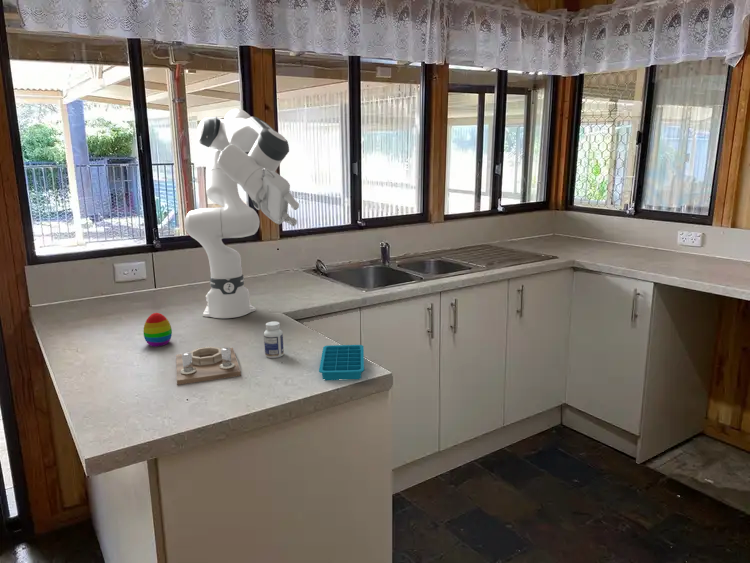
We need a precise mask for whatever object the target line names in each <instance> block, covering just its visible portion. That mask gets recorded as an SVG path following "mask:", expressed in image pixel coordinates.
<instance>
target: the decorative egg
mask: <svg viewBox="0 0 750 563" xmlns="http://www.w3.org/2000/svg"><path fill="white" fill-rule="evenodd" d="M172 331H173V329H172V326H171V324H170V321H169V320H168V318H167V317H166V316H165V315H163V314H162V313H160V312H153V313H151V314H150V315H149V316H148V317H147V318H146V320H145V323H144V325H143V337H144V340H145V342H146V343H147V344H148V345H149V346H150V347H157V348H158V347H163V346H165V345H168V344H169V342H170V341H171V339H172V335H173V334H172V333H173V332H172Z"/></svg>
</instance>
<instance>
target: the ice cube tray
mask: <svg viewBox="0 0 750 563" xmlns="http://www.w3.org/2000/svg"><path fill="white" fill-rule="evenodd" d="M364 349H365V348H364V345H362V344H339V345H338V344H337V345H336V344H335V345H334V344H333V345H332V344H330V345H328V344H327V345H324V346H323V347H322V352H321V357H320V362H319V368H318V372H319V373H320V374H321V375H322V376H321V378H322V380H323V379H325V380H324V381H340V380H339V379H358V380H360V379H361V378H362V372H364V371H365V357H364V356H365V355H364V354H365V353H364V352H365V351H364Z"/></svg>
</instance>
